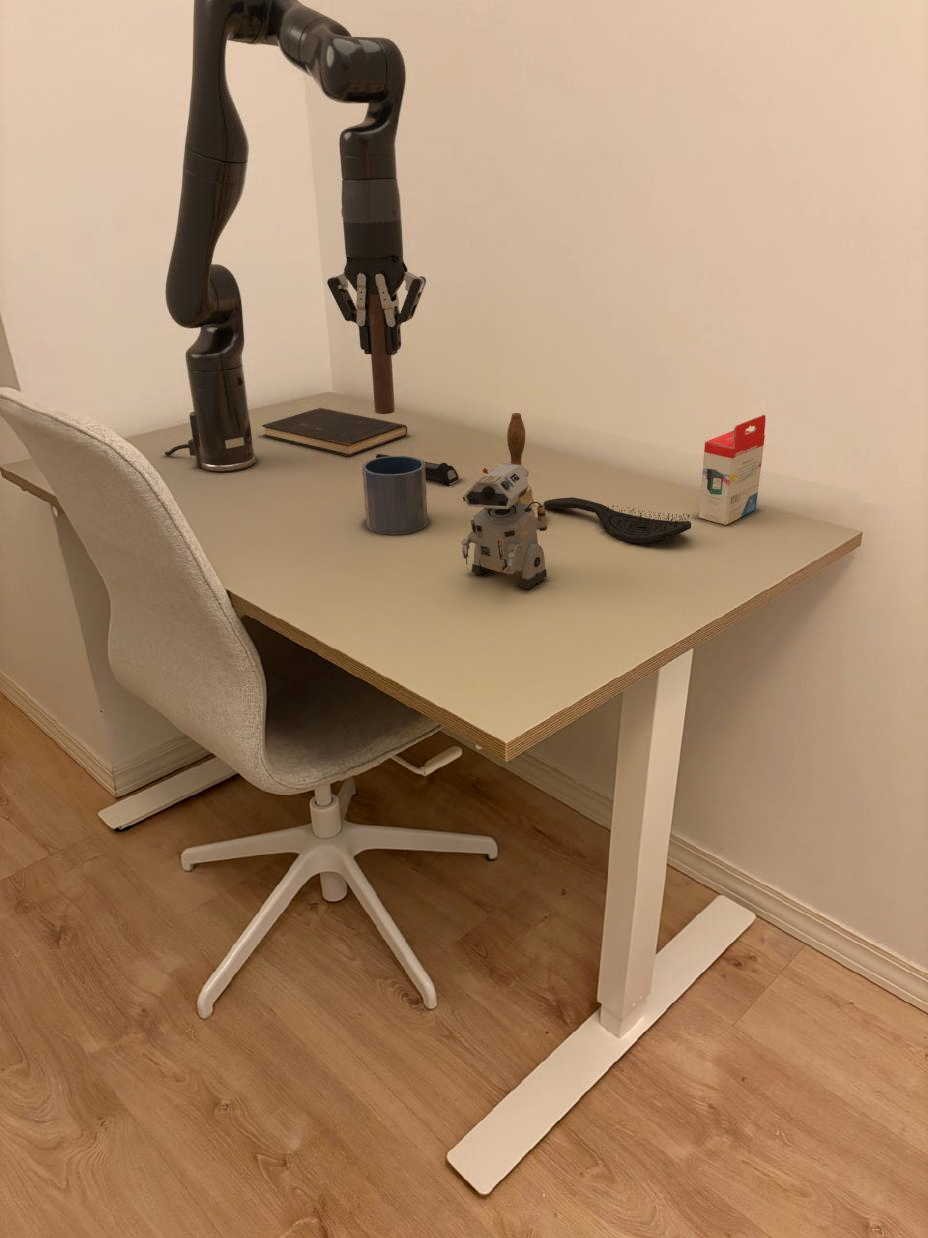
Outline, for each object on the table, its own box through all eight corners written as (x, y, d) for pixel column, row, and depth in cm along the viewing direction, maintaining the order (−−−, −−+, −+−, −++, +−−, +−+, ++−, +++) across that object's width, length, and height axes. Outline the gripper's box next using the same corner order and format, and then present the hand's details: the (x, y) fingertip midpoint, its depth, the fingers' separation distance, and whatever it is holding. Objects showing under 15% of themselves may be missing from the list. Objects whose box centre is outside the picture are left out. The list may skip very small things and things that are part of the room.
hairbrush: (562, 481, 150) (704, 510, 134) (562, 504, 152) (703, 535, 136) (527, 495, 145) (670, 527, 129) (528, 519, 147) (670, 553, 131)
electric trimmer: (385, 467, 169) (384, 449, 167) (460, 480, 161) (459, 461, 160) (372, 473, 166) (370, 455, 164) (447, 486, 158) (446, 467, 157)
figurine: (444, 590, 123) (440, 477, 116) (497, 560, 131) (496, 452, 124) (503, 608, 118) (503, 490, 111) (554, 575, 126) (556, 464, 119)
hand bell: (479, 516, 146) (477, 411, 139) (529, 507, 149) (529, 404, 142) (503, 534, 139) (502, 425, 132) (554, 524, 142) (556, 417, 135)
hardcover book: (348, 456, 174) (347, 444, 173) (263, 436, 187) (261, 424, 186) (407, 435, 185) (407, 423, 184) (323, 418, 198) (322, 406, 197)
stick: (372, 413, 135) (363, 294, 128) (379, 408, 138) (371, 290, 130) (390, 414, 134) (383, 294, 127) (397, 409, 137) (390, 291, 130)
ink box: (728, 503, 148) (738, 408, 142) (757, 510, 145) (768, 413, 138) (696, 518, 143) (705, 420, 136) (726, 526, 140) (736, 426, 133)
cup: (357, 532, 141) (352, 473, 137) (379, 510, 149) (375, 454, 145) (416, 537, 139) (413, 477, 135) (435, 515, 147) (432, 457, 143)
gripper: (432, 214, 126) (438, 349, 134) (333, 214, 130) (344, 346, 137) (414, 219, 120) (421, 361, 127) (310, 219, 123) (322, 357, 131)
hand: (381, 352), depth 132 cm, fingers closed on stick, 2 cm apart
